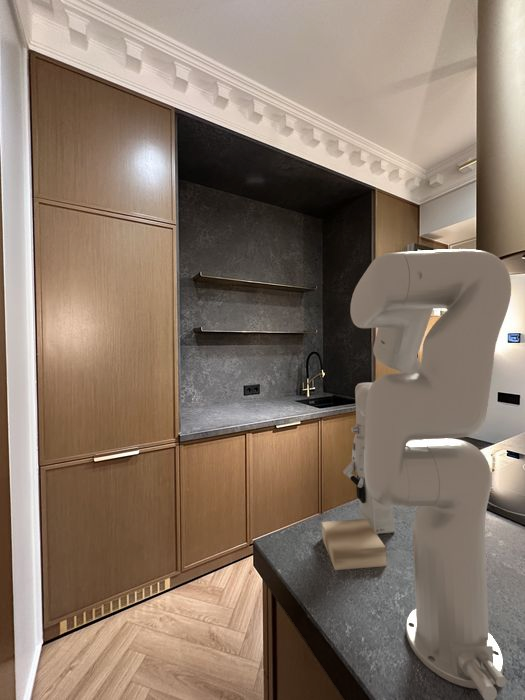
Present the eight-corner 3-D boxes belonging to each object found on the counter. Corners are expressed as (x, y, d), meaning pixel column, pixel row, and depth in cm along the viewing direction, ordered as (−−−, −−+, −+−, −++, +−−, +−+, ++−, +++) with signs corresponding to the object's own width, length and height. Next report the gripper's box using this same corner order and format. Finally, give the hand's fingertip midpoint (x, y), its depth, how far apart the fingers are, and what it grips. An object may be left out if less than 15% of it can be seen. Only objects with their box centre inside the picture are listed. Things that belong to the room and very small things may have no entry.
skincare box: (395, 532, 77) (393, 472, 77) (372, 535, 76) (370, 474, 76) (378, 515, 85) (376, 461, 85) (357, 517, 85) (355, 462, 85)
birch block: (386, 566, 66) (385, 547, 66) (334, 570, 65) (334, 550, 65) (366, 535, 77) (365, 518, 77) (322, 538, 76) (321, 521, 76)
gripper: (343, 436, 77) (346, 509, 77) (411, 432, 78) (414, 504, 78) (334, 428, 84) (337, 495, 84) (397, 425, 85) (400, 491, 85)
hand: (374, 499), depth 81 cm, fingers closed on skincare box, 6 cm apart
